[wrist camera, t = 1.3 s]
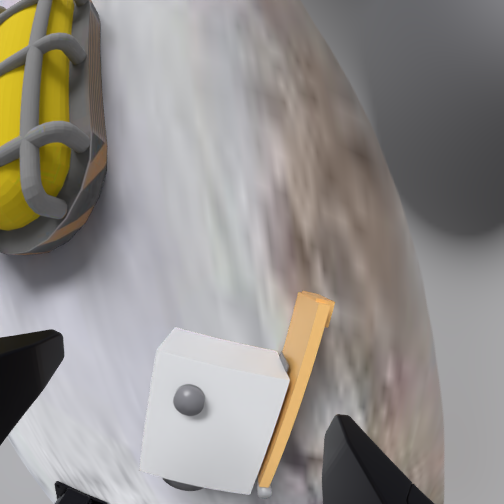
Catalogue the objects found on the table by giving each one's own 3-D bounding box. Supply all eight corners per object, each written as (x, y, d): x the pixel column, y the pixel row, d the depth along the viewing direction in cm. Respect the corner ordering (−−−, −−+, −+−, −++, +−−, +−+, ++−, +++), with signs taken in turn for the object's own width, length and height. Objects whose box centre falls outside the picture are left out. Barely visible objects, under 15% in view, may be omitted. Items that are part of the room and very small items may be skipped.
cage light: (82, -53, 15) (74, 217, 15) (102, -11, 23) (122, 229, 23) (-25, 10, 14) (-60, 274, 14) (4, 40, 22) (-3, 271, 22)
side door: (264, 456, 23) (271, 499, 17) (250, 454, 23) (254, 497, 17) (314, 292, 23) (339, 304, 17) (298, 288, 23) (319, 300, 17)
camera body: (242, 464, 23) (245, 515, 16) (154, 445, 23) (135, 491, 16) (278, 345, 23) (295, 377, 17) (176, 320, 23) (154, 345, 16)
